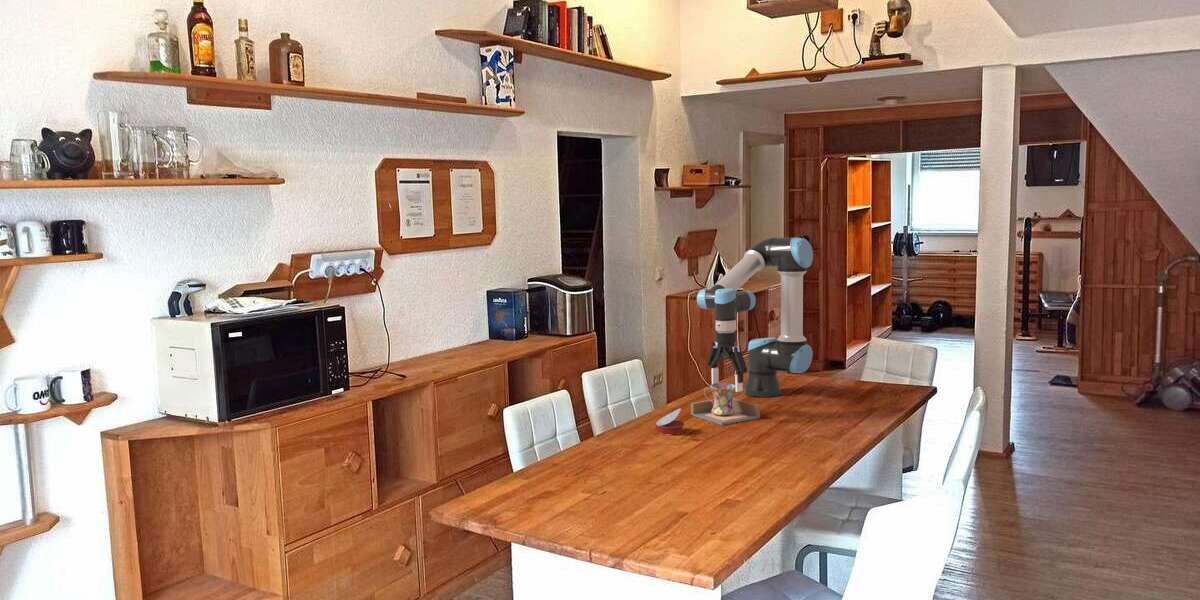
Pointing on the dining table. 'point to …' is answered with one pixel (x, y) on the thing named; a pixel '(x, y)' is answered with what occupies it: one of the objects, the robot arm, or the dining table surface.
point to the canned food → (670, 424)
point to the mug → (722, 398)
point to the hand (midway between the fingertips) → (727, 388)
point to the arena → (742, 413)
